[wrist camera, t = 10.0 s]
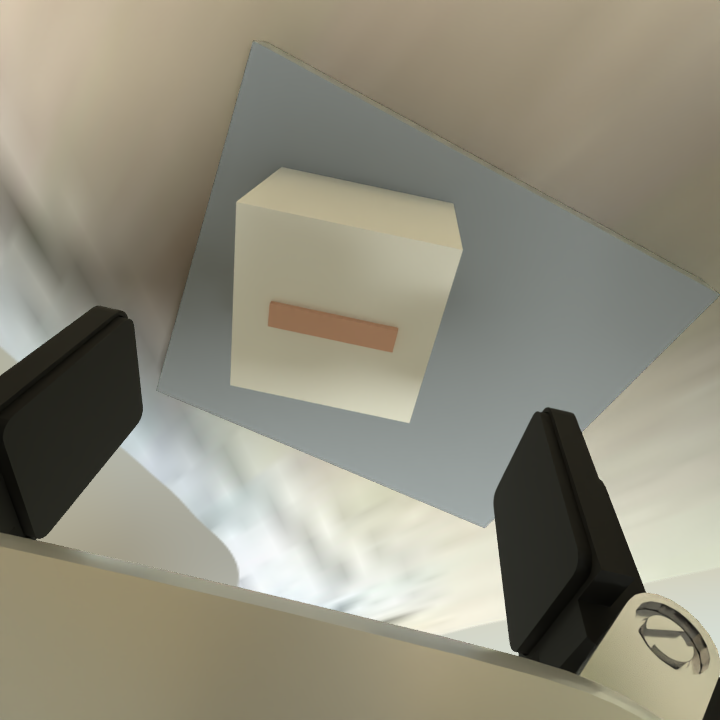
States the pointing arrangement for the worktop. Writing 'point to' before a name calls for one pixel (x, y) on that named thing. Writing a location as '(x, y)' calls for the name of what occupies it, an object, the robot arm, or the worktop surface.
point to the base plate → (463, 308)
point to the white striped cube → (339, 291)
